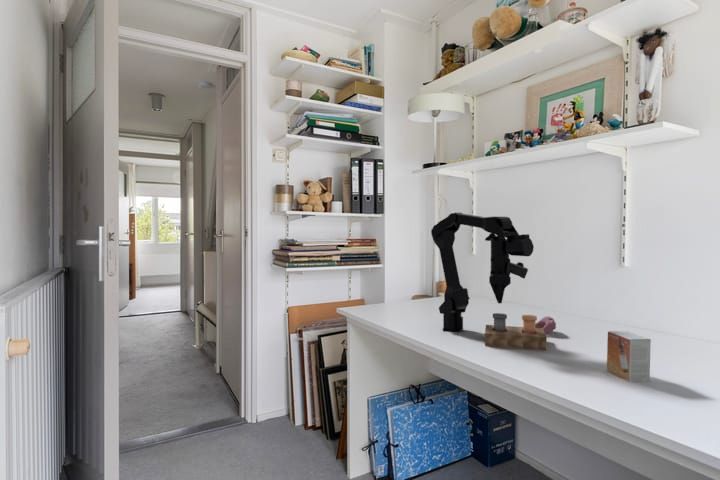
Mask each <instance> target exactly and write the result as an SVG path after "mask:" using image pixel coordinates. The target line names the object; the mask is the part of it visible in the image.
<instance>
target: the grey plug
mask: <svg viewBox="0 0 720 480" xmlns="http://www.w3.org/2000/svg"><path fill="white" fill-rule="evenodd" d="M492 318H493V325H494V331H502V332H506V326H507V325H506V319H508V314H506V313H503V312H497V313H496V312H495V313H492Z"/></svg>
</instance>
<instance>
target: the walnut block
mask: <svg viewBox="0 0 720 480" xmlns="http://www.w3.org/2000/svg"><path fill="white" fill-rule="evenodd" d="M547 338H548V337H547V335H545V333H544V330H543V328H535V334H531V333H523V326H512V325H511V326H510V325H506V332H502V331H494V324H486V325H485V329H484V346H485V347H496V348H497V347H499V348H509V349H510V348H511V349H522V350H532V351H533V350H535V351H547V349H548V347H547V346H548V345H547V343H548V341H547Z"/></svg>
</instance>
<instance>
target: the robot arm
mask: <svg viewBox="0 0 720 480" xmlns="http://www.w3.org/2000/svg"><path fill="white" fill-rule="evenodd" d="M461 225H463V226H469V227H474V228H479V229H482V230H483V231H485V232H487V233H489V234H488V236H487V237H485V239H484V241H485V242H490V272H489V284H490V287H491V288H492V289H491V290H492V291H493V294H494V297H495V299H496V302H497V304H502V303H503V298H504V294H505V289H506V288H508V286H509V285H511V283H512V282H511V276H510V275H511V274H512V275H515V276H518V277H520V278H522V279H525V278H526V276H527V274H528V271H529V269H528V268H527V267H524V263H523V262H521V261H518V262H516V263H513V262H511V258H510V256H514V257H531V255H533V252H534V243H533V240H532V239H531V238H530V234H529V233H528V234H519V232H518V230H517V229H516V228H515V227H514V224H513V221H512V220H511V218H510V217H509V216H480V215H474V214H468V213H467V214H466V213H463V212H451V213H449V214H448V215H447V216H446V217H445V218H443V219H441V220H440V221H438V222H437V223H436V224H435V225H433V227H432V228H431V230H430V233H431V237H432V241H433V242H434V244H435V246H437V248H438V249H439V253H440V260H441V264H442V265H441V266H442V269H443V275H444V280H445V285H446V287H445V291H444V294H443V299H444V300H443V302H442V303H441V305H439V307H438V310H439V311H438V312H439V314H443V320H442V321H443V327H442V332H443V331H447V332H458V333H459V332H461V331H462V330H463V329H464V317H463V316H462V313H465V312H466V309H467V307H468V306H469V303H470V302H469V300H470V299H471V298H470V297H469V291H468V287H467V288H466V287H464V288H463V286H462V285H461V283H460V276H459V272H458V267H457V262H456V257H455V252H454V247H453V246H454V243H455V239H456V235H455V234H456V232H458V231H459V230H460V227H461Z"/></svg>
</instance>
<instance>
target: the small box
mask: <svg viewBox="0 0 720 480" xmlns="http://www.w3.org/2000/svg"><path fill="white" fill-rule="evenodd" d="M651 341H652V339H651V338H649V337H646V336H645V337H644V336H643V335H639V334H636V333H634V332H630V331H628V330H613V331H612V330H610V331H609V330H608V331H607V348H606V350H607V351H606V354H607V355H606V371H607V372H609V373H612V374H614V375H615V376H618V377H619V378H621V379H623V380H625V381H626V380H627V381H626V382H628V381H629V382H628V383H631V382H630V381H637V382H645V381H644V380H651V379H650V375H651V346H652V345H651Z"/></svg>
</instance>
